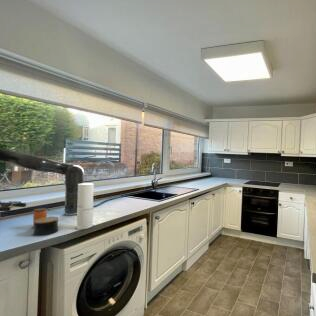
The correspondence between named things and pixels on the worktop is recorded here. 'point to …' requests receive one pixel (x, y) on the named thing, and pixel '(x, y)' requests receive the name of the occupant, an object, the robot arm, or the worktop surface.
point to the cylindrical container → (85, 205)
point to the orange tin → (39, 214)
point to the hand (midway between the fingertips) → (17, 206)
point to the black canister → (45, 226)
